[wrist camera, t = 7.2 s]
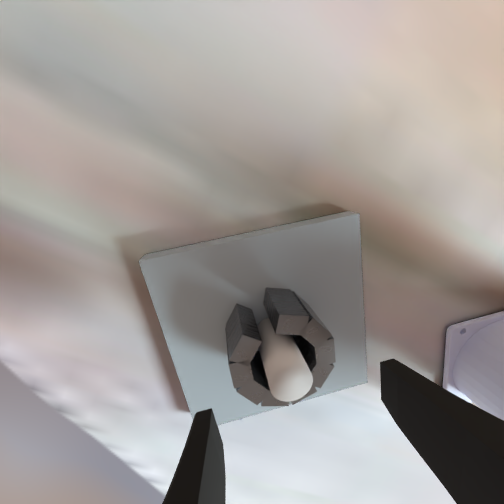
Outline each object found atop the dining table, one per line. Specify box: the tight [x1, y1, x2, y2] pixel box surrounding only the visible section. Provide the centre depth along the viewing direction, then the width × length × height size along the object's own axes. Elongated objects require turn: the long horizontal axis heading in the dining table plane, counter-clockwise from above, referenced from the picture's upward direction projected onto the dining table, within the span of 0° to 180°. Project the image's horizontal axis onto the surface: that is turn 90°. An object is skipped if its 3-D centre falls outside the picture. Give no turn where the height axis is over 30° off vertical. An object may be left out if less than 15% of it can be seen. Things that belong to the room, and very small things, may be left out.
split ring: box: [225, 287, 336, 406], centre depth 13 cm, size 5×5×3 cm
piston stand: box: [139, 211, 368, 425], centre depth 14 cm, size 12×12×5 cm
